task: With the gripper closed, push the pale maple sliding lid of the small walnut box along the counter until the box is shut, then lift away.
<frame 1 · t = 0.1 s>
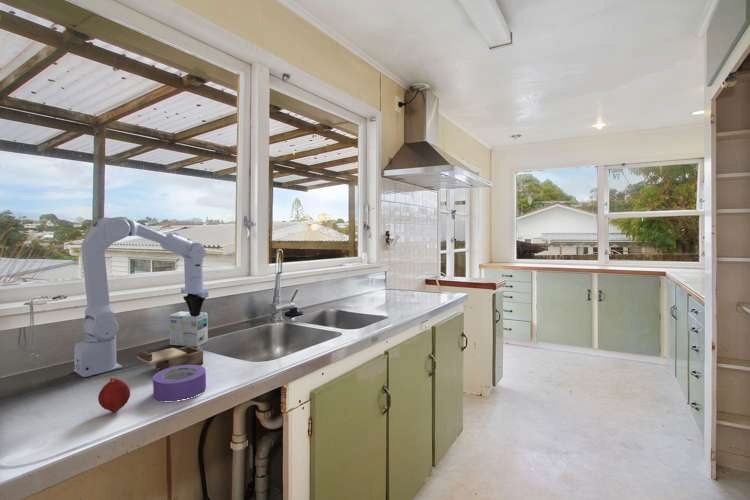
hand: (195, 315, 131), 11 cm above the worktop, tool pointing down, fingers closed, pressing on light bulb box
lid: (162, 352, 108), point 5 cm above the worktop, slide at 5.0 cm
light bulb box: (189, 343, 135), on the worktop, touching gripper
walnut box: (179, 365, 113), on the worktop
onion: (115, 412, 84), on the worktop
tape roll: (180, 393, 95), on the worktop
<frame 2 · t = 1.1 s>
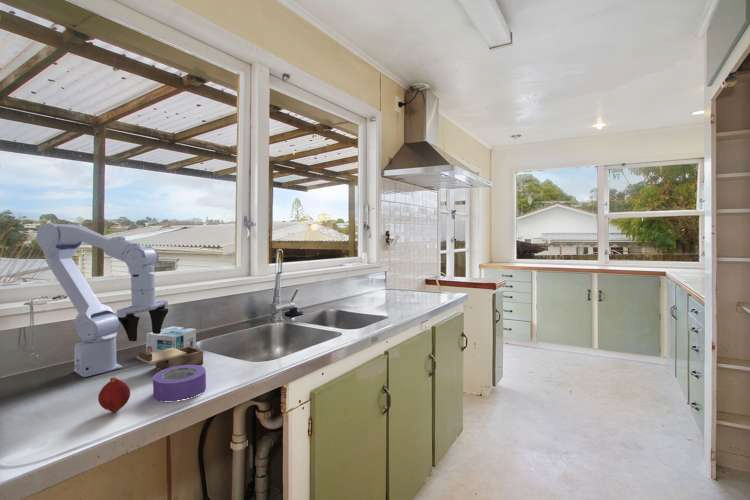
hand: (145, 337, 108), 10 cm above the worktop, tool pointing down, fingers open, 7 cm apart
light bulb box: (184, 336, 132), point 3 cm above the worktop
everything else where it was.
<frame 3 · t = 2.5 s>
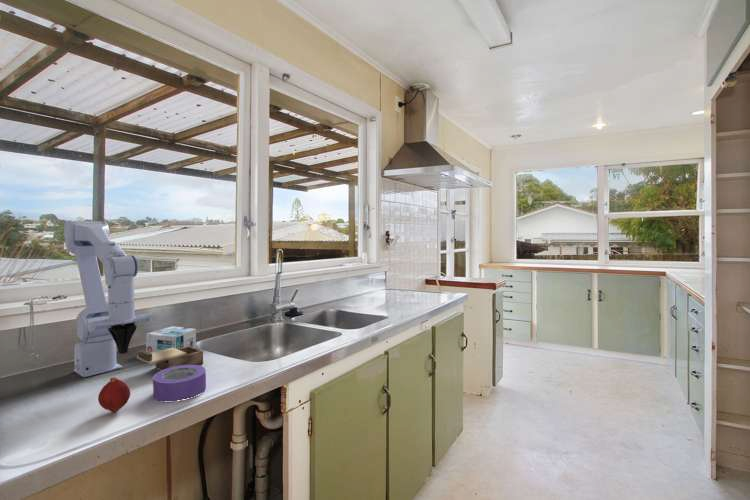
hand: (122, 352, 100), 8 cm above the worktop, tool pointing down, fingers closed
nothing on the worktop moved.
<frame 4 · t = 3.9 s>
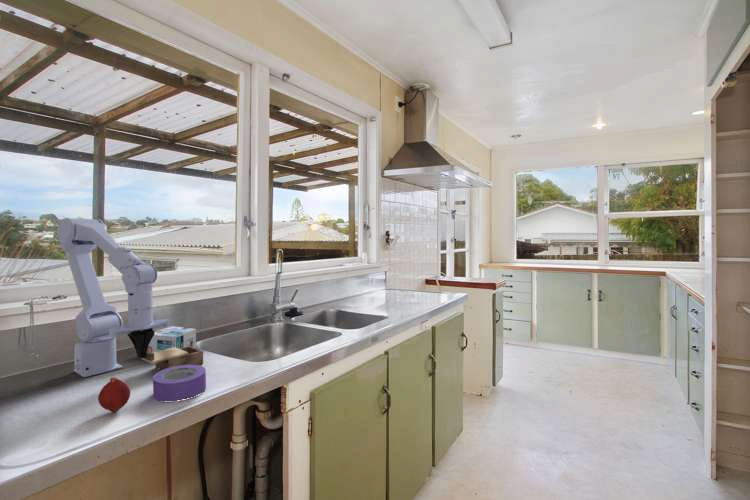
hand: (141, 357, 104), 5 cm above the worktop, tool pointing down, fingers closed
lid: (163, 351, 109), point 5 cm above the worktop, slide at 4.5 cm, touching gripper
everything else where it was.
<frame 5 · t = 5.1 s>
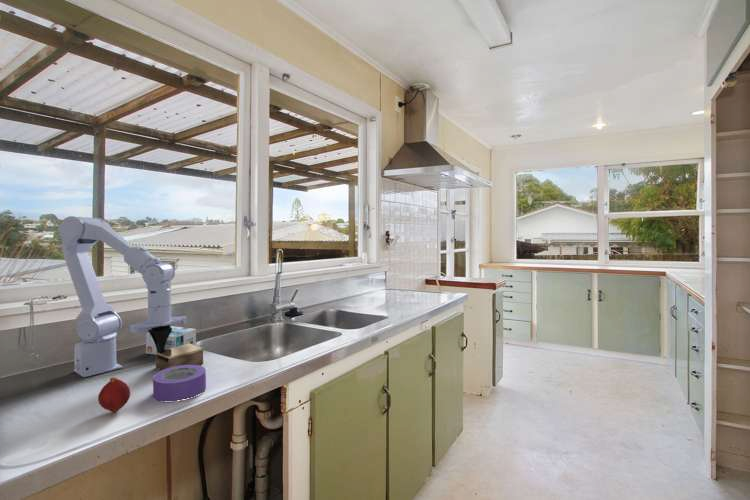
hand: (160, 352, 108), 5 cm above the worktop, tool pointing down, fingers closed
lid: (180, 348, 113), point 5 cm above the worktop, slide at -0.1 cm, touching gripper
everything else where it was.
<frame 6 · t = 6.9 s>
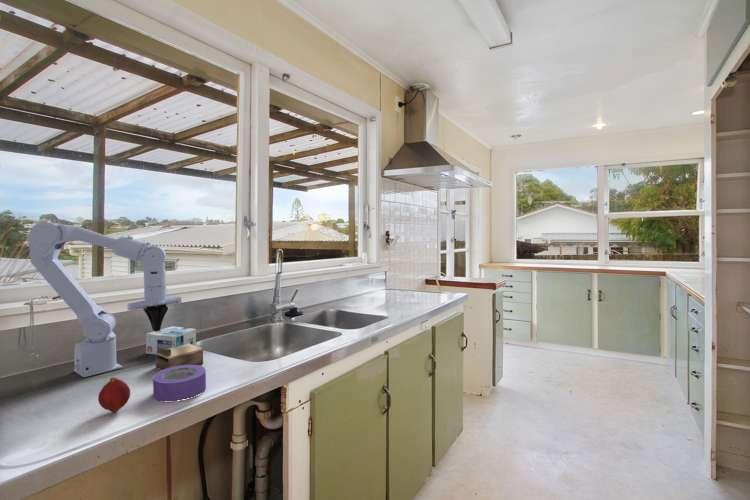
hand: (156, 330, 115), 10 cm above the worktop, tool pointing down, fingers closed
lid: (179, 348, 113), point 5 cm above the worktop, slide at 0.0 cm
everything else where it was.
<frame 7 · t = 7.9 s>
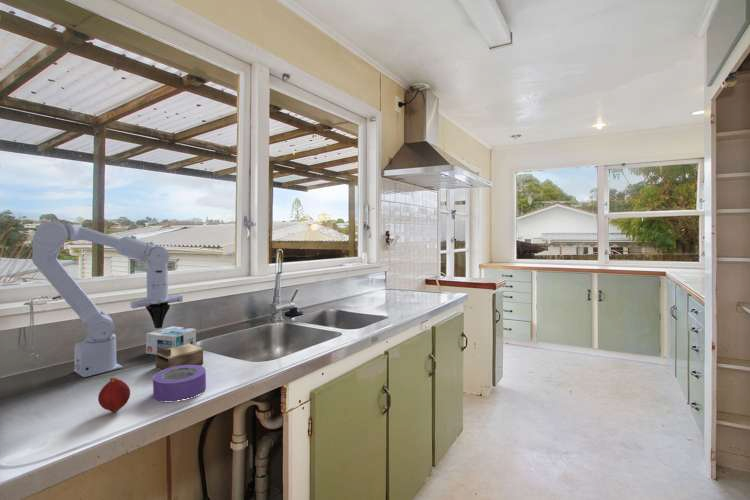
hand: (158, 327, 118), 10 cm above the worktop, tool pointing down, fingers closed
nothing on the worktop moved.
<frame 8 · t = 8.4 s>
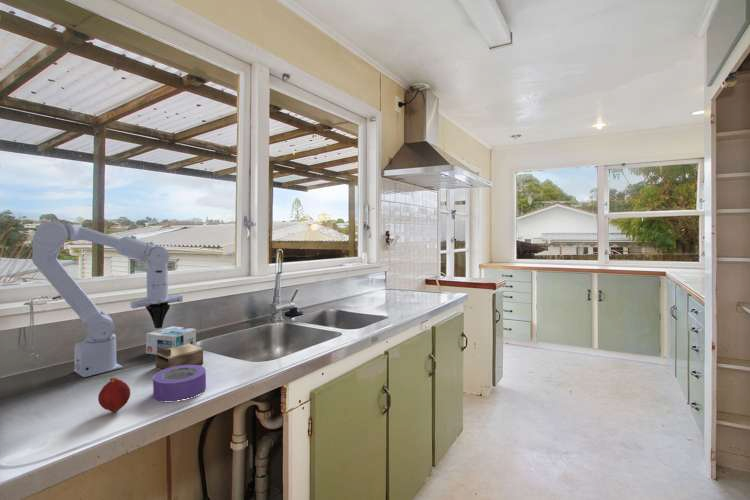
hand: (158, 327, 118), 10 cm above the worktop, tool pointing down, fingers closed
nothing on the worktop moved.
at the end: lid slide at 0.0 cm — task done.
